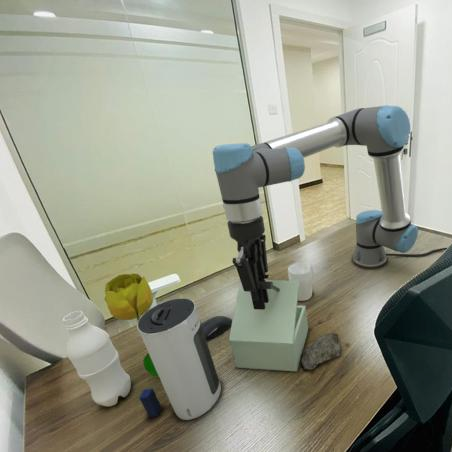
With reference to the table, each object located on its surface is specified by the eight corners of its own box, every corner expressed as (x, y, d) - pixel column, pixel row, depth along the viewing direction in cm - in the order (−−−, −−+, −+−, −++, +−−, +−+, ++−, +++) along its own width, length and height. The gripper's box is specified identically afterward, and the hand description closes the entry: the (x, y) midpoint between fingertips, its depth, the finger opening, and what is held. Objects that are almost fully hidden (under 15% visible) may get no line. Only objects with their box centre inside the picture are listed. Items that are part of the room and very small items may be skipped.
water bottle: (111, 383, 67) (69, 305, 57) (140, 380, 67) (103, 302, 58) (89, 412, 60) (37, 329, 51) (121, 408, 61) (76, 326, 51)
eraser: (162, 407, 61) (153, 387, 58) (158, 417, 59) (148, 396, 56) (153, 408, 60) (143, 388, 58) (148, 418, 58) (137, 398, 56)
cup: (311, 304, 92) (308, 275, 87) (287, 302, 94) (283, 273, 89) (318, 289, 100) (315, 262, 96) (295, 287, 102) (292, 260, 97)
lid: (241, 280, 72) (226, 273, 64) (299, 281, 70) (291, 274, 62) (230, 340, 66) (212, 340, 58) (293, 343, 64) (283, 344, 56)
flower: (141, 376, 69) (96, 280, 57) (175, 356, 74) (139, 265, 62) (149, 397, 63) (101, 296, 52) (185, 375, 68) (148, 278, 57)
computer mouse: (242, 337, 79) (239, 327, 78) (178, 371, 69) (174, 360, 68) (228, 316, 88) (225, 307, 87) (170, 344, 78) (166, 334, 77)
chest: (257, 327, 83) (252, 303, 79) (308, 329, 81) (305, 305, 77) (236, 367, 70) (229, 341, 66) (297, 371, 68) (293, 344, 64)
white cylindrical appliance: (212, 419, 58) (180, 328, 48) (164, 424, 57) (121, 334, 47) (226, 375, 67) (202, 293, 58) (185, 380, 67) (154, 297, 57)
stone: (305, 374, 67) (304, 366, 66) (294, 351, 74) (293, 343, 73) (352, 353, 72) (352, 345, 71) (338, 333, 79) (338, 325, 78)
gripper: (243, 207, 64) (258, 287, 73) (210, 231, 50) (233, 326, 59) (272, 207, 63) (284, 287, 72) (247, 231, 49) (265, 327, 58)
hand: (261, 304), depth 66 cm, fingers closed on lid, 2 cm apart
